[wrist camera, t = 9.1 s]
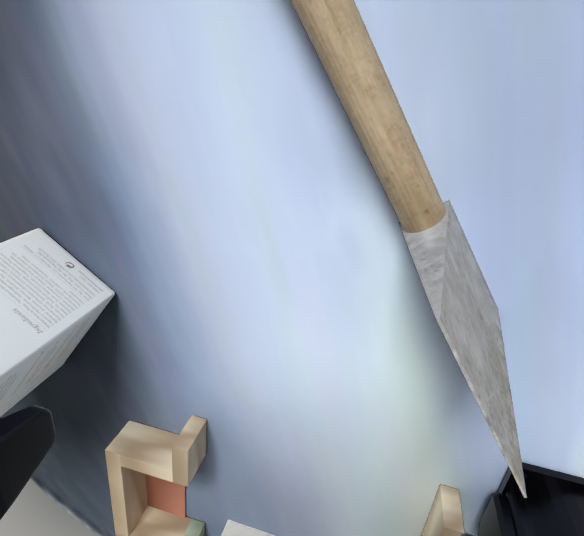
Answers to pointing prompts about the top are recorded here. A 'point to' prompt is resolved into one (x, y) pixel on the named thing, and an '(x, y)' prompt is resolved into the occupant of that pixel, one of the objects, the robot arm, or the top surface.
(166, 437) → the u-shaped wooden frame
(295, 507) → the top surface
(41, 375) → the small box
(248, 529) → the cream block
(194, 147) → the top surface
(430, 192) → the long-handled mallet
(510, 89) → the top surface
